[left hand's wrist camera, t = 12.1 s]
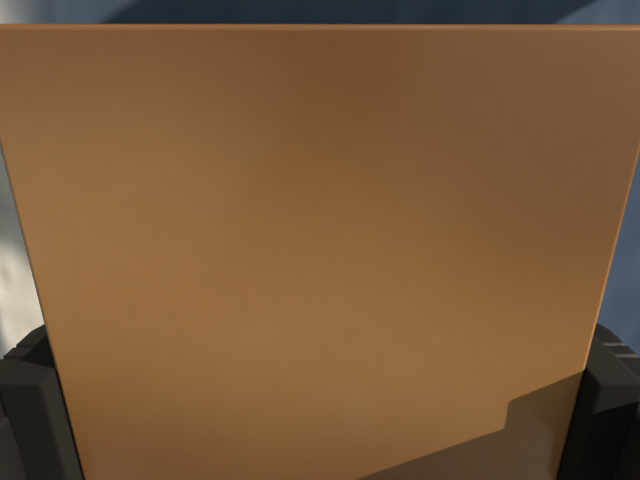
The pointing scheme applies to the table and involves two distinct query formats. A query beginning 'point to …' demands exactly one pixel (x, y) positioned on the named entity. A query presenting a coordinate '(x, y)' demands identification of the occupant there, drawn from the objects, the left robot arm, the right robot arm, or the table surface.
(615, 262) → the table surface
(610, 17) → the table surface
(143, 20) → the table surface
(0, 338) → the table surface
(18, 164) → the thick board
